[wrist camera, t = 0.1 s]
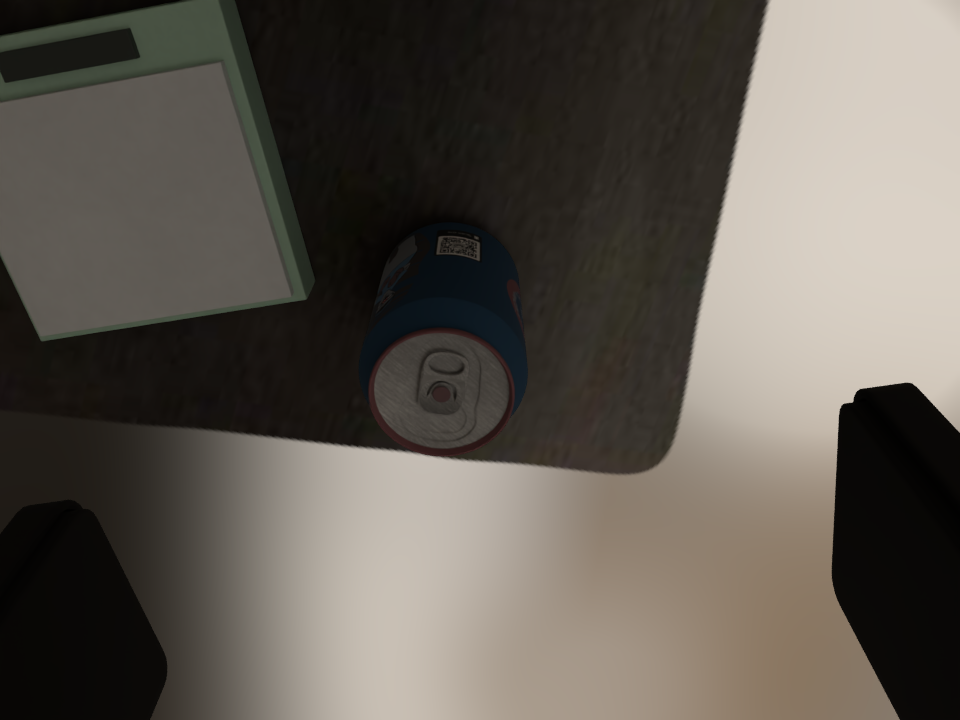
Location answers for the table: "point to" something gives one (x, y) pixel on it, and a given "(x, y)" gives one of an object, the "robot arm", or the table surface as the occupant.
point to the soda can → (445, 341)
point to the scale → (142, 172)
